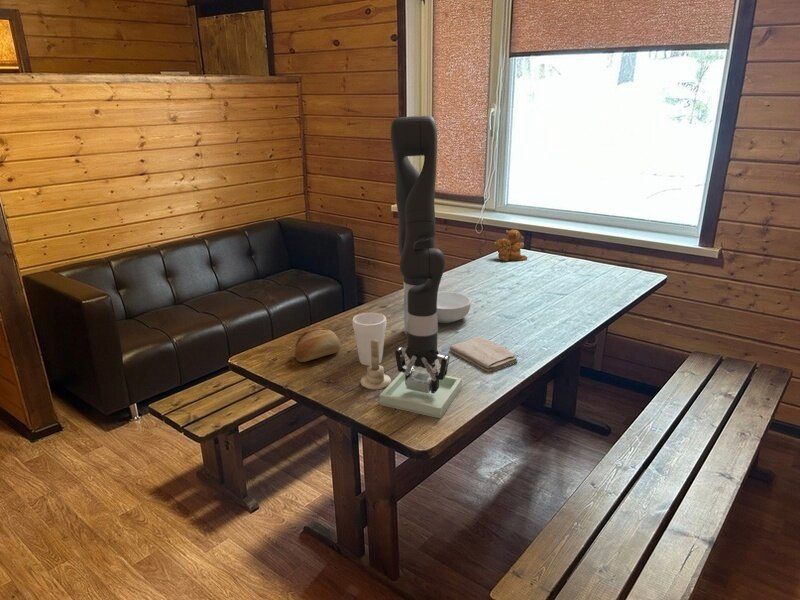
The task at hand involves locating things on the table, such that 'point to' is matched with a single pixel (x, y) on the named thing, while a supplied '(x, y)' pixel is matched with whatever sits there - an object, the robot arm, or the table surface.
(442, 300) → the cereal bowl
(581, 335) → the table surface
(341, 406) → the table surface
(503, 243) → the stuffed squirrel
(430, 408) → the tray
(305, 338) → the bread roll
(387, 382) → the beige peg stand
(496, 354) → the washcloth
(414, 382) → the ring
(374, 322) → the foam cup
